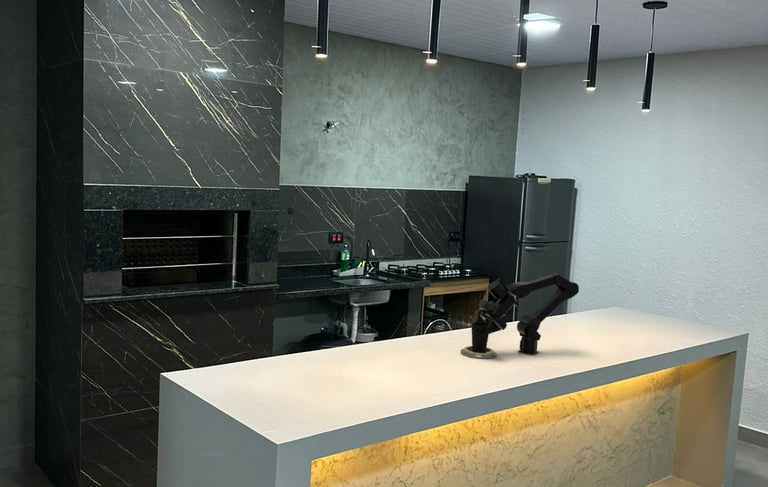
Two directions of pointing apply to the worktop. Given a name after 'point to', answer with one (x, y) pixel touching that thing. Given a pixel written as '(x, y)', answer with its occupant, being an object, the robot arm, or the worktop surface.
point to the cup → (479, 337)
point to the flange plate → (478, 353)
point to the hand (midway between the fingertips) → (477, 332)
